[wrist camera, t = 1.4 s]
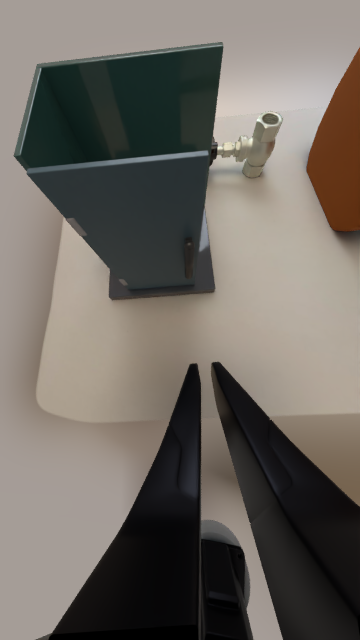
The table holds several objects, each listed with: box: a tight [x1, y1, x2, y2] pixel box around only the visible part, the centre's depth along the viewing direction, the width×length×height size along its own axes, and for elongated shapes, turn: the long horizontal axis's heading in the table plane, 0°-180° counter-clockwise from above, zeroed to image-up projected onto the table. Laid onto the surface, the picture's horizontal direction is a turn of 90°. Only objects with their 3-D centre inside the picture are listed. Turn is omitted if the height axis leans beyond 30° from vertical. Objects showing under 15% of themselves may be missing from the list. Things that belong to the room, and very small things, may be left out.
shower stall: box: [14, 42, 223, 300], centre depth 19 cm, size 16×16×15 cm
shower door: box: [27, 151, 209, 290], centre depth 15 cm, size 2×10×15 cm, turn 94°
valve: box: [209, 111, 283, 178], centre depth 26 cm, size 7×7×12 cm
